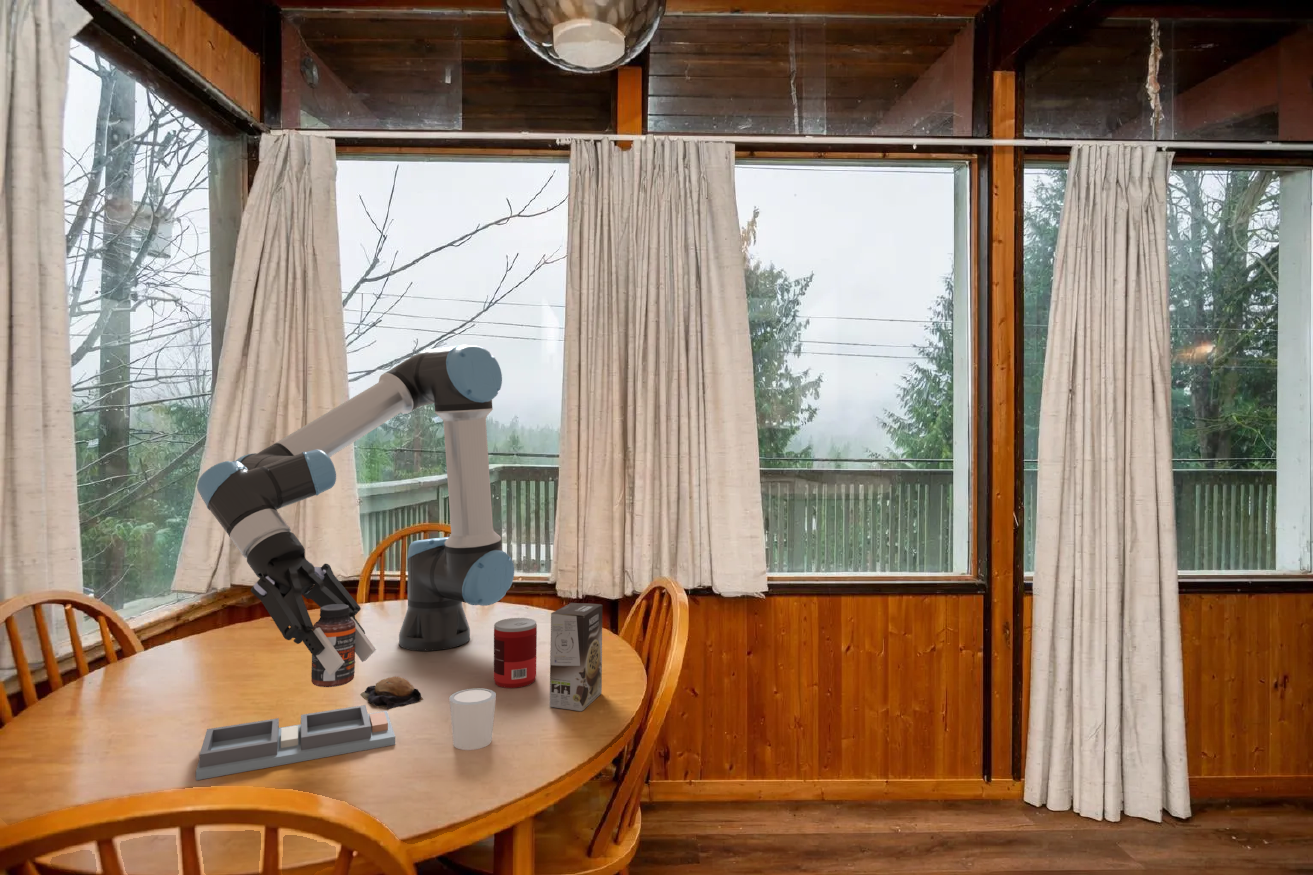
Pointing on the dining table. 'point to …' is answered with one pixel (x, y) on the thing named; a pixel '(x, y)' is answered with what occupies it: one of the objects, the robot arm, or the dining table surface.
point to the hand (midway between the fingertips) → (353, 661)
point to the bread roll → (392, 693)
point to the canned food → (515, 652)
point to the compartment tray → (292, 740)
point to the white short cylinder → (472, 718)
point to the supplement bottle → (336, 645)
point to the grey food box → (576, 656)
